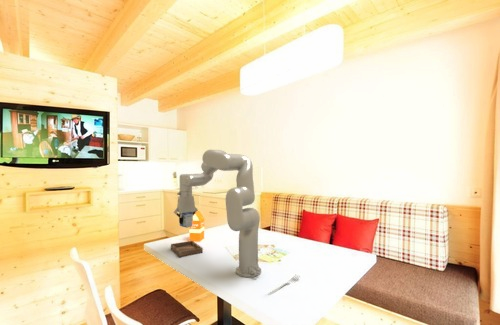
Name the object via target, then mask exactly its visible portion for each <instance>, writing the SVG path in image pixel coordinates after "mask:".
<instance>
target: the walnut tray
mask: <svg viewBox="0 0 500 325" xmlns="http://www.w3.org/2000/svg"><path fill="white" fill-rule="evenodd" d="M203 248H204V247H202V246H201V245H199V244H197V242H194V241H190V240H187V241H182V242H176V243H170V249H171V251H173V253H174V254H175V255H176V256H177V257H178V258H184V257H190V256H194V255H198V254H199V255H200V254H203V250H204V249H203Z"/></svg>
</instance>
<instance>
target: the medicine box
mask: <svg viewBox="0 0 500 325" xmlns="http://www.w3.org/2000/svg"><path fill="white" fill-rule="evenodd" d="M182 218H183V224H180V223H179V226H180V227H182V228H186V229H187V228H190V227H192V213H191V212H189V213H183V214H182Z"/></svg>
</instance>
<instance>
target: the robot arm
mask: <svg viewBox="0 0 500 325" xmlns="http://www.w3.org/2000/svg"><path fill="white" fill-rule="evenodd" d="M200 168H201V170H202V172H201V173H181V174H180V175H179V192H177V193H176V194H177V196H178V198H177V205H176V206H177V207H176V208H175V209H174V211H173V214H174V215H176V216H177V217H178V222H179V225H180V224H183V218H182V214H183V213H189V212H191V213H192V221H193V215H194V214H195V213H196V212H197V211H199V209H198V208H197V207H196V203H195V198H194V197H195V196H194V195H193V188H194V187H201V186H205V185H206V184H208V183H209V182H210V181H212V180H213V177H214V173H216V172H217V171H218V170H220V171H224V172H226V171H227V172H229V171H231V172H232V171H238V172H237V173H236V178H235V180H236V181H235V182H236V187H231V188H230V189H229V190H227V192H226V194H225V211H226V221H227V224H228V225H227V226H229V229H231V230H232V231H234V232H239V234H238V266H237V267H236V269H235V273H236V274H237V275H238V276H240V277H244V278H254V277H257V276H259V275H260V274H262V268H261V267H260V266H259V265H260V264H259V226H260V221H261V220H260V219H261V218H260V216H261V215H260V212H259V211H258V210H257V209H255V208H254V207H246V208H243V207H245V206H249V205H252V204H253V203H255V201H256V200H255V199H256V197H255V196H256V195H255V186H254V174H253V173H254V171H253V170H254V168H253V163H252V161H251V159H250V158H249V157H248V156H246V155H245V154H244V155H243V154H237V153H227V152H226V151H225V150H222V149H221V150H220V149H207V150H206V151H204V153H203V154H202V163H201V165H200Z"/></svg>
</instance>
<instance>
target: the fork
mask: <svg viewBox="0 0 500 325" xmlns="http://www.w3.org/2000/svg"><path fill="white" fill-rule="evenodd" d="M300 278H301V276H300V275H297V274H295V275H293V277H292V278H291V279H289V280H288V281H289V282H285V283H282V284H281V285H279V287H277V288H275V289H274V290H272V291H270V292H268V293H267V295H268V296H270V295H273V294H275V293H276V292H278V291H279V290H280V289H281V288H283V287H284V286H286V285H291V283H290V282H292V283H296V282H297V281H298V280H299V279H300Z"/></svg>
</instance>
